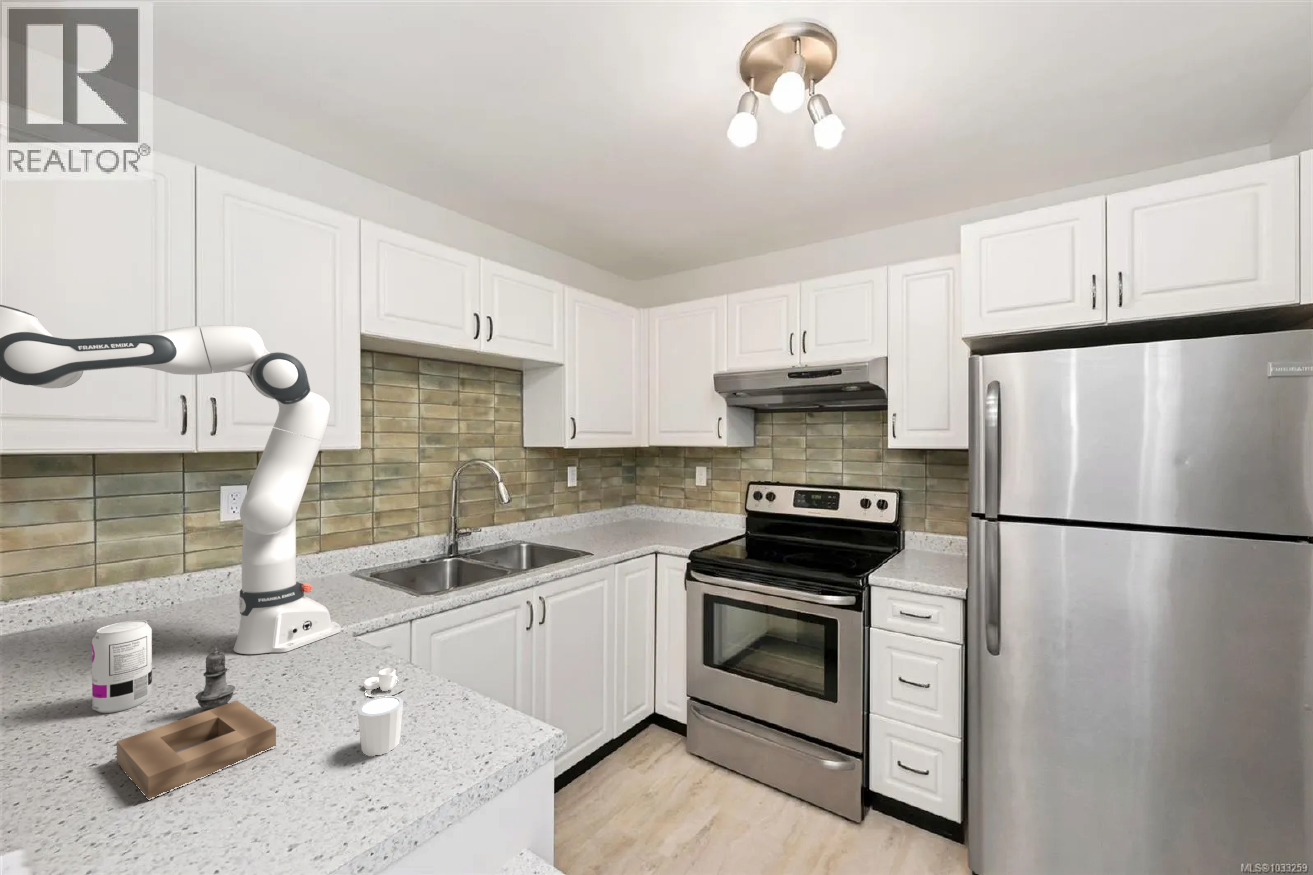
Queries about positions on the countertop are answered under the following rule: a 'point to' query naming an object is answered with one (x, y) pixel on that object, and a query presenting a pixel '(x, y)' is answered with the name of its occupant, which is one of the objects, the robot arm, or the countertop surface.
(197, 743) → the holder
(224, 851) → the countertop surface
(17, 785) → the countertop surface
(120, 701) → the supplement can
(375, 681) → the teacup and saucer
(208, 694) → the grey tall rounded piece
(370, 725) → the white cylinder
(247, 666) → the countertop surface
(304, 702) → the countertop surface
